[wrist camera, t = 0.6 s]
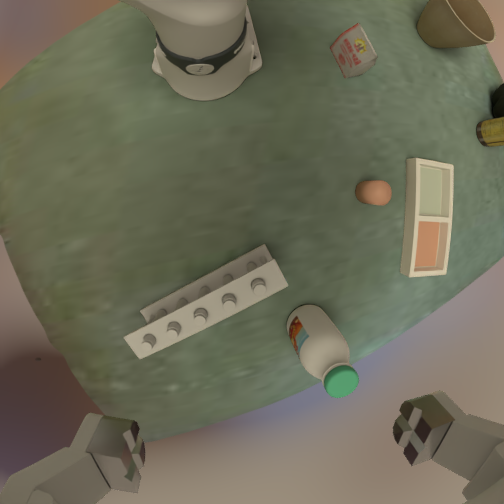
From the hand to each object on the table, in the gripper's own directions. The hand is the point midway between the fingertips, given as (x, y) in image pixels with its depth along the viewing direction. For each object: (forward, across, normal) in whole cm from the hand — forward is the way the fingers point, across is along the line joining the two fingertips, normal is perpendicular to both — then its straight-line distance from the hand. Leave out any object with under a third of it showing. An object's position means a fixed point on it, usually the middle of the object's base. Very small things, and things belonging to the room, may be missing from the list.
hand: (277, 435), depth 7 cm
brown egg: (+43, -23, -7) cm, 49 cm away
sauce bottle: (+43, -57, -24) cm, 75 cm away
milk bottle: (+43, -13, +17) cm, 48 cm away
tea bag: (+43, -20, -32) cm, 57 cm away
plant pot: (+43, -42, -46) cm, 76 cm away
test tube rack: (+43, +5, +10) cm, 44 cm away
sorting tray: (+43, -37, -3) cm, 57 cm away
